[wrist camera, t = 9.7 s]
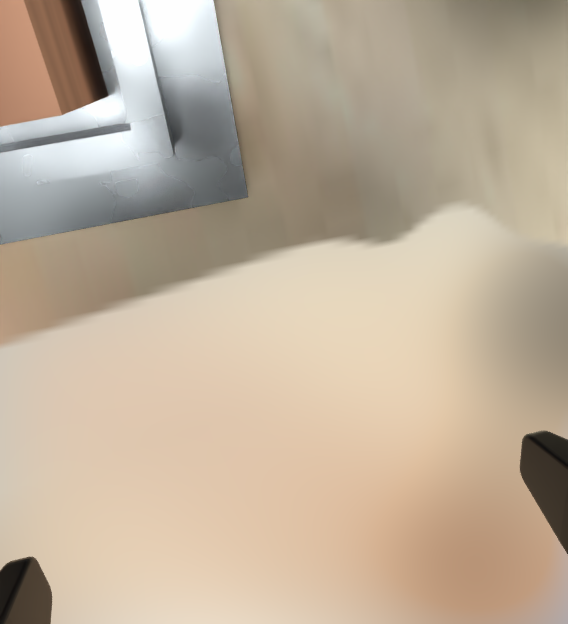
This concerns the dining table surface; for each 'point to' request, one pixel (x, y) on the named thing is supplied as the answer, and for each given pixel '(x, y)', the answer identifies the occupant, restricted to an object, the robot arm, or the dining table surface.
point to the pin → (46, 60)
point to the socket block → (129, 128)
